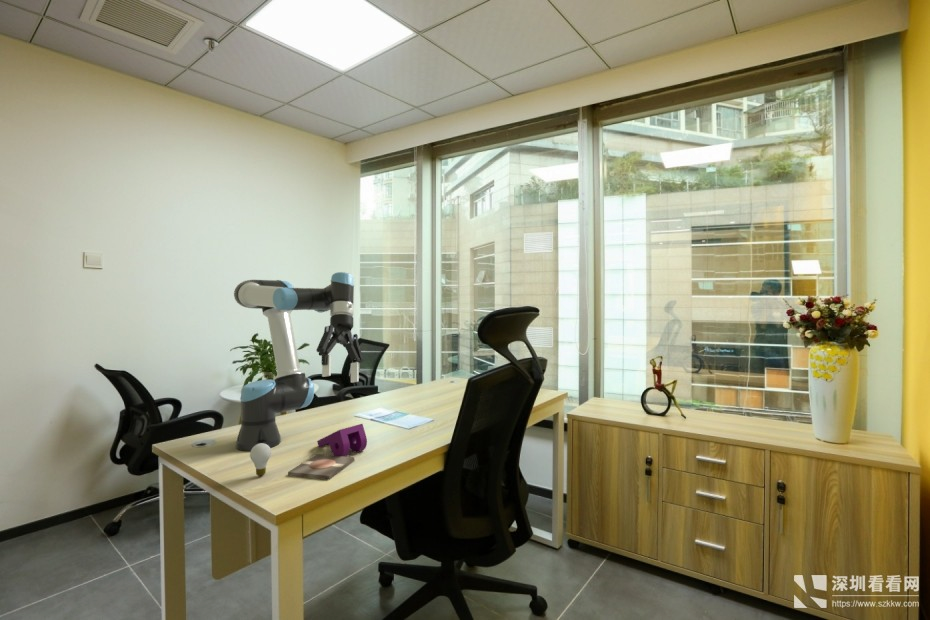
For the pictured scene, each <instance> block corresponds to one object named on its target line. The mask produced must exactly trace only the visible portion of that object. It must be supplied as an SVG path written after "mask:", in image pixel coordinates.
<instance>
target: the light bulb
mask: <svg viewBox="0 0 930 620" xmlns="http://www.w3.org/2000/svg"><path fill="white" fill-rule="evenodd" d="M271 456H272V449H271V448H270V447H269V446H268V445H267V444H264V443H260V444H257V445H255V446H254V447H253V448H252V449H251V451H249V458H250V460H251V462H253V465H254V467H255V475H256V476H258V477H263V476H264V475H265V474H266V470H267V465H268V461H269V459H270V458H271Z"/></svg>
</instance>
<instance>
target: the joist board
mask: <svg viewBox="0 0 930 620" xmlns="http://www.w3.org/2000/svg"><path fill="white" fill-rule="evenodd" d="M354 462H355V457H354V456H334V455H333V454H332V455H330V454H320V453H319V454H315V455H313V456H312V457H310V458H308V459H306V460H304V461H303V462H301V463H299V465H297V466H295V467H294V468H292V469H290V470H289V471H288V472H287V476H288V477H297V478H307V479H317V480H327V481H330V480H331V479H332V478H334V477H335V476H337V475H338V474H340V473H341V471H343V470H344V469H345V468H347V467H348V466H350V465H351V464H352V463H354Z"/></svg>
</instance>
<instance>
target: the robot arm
mask: <svg viewBox="0 0 930 620" xmlns="http://www.w3.org/2000/svg"><path fill="white" fill-rule="evenodd" d="M354 287H355V285H354V277H353V275H352V274H350V273H348V272H345V271H340V272H334V273H333V274H332V275H331V279H330V284H329V285H326V287H322V288H319V287H316V288H313V287H309V288H308V287H306V288H305V287H294V285H293V284H292V283H291V282H289V281H286V280H280V279H277V280H276V279H275V280H272V279H268V280H267V279H248V280H243V281H241V282H240V283H238V284H237V286H236V287H235V289H234V292H233V297H234V301H235V302H236V303H237V304H238V305H240V306H241V307H244V308H248V309H261V310H262V311H261V312H262V315H263V316H265V317H267V321H268V328H269V332H270V338H271V344H272V349H273V355H274V362H275V367H276V372H277V374H276V376H275V377H274V379H262V380H257V381H253V382H252V381H251V382H249V383H246V384H245V385H244V386H242V387H241V391H240V397H239V400H240V421H241V422H240V423H241V425H240V428H239V432H238V434H237V439H236V441H235V448H236V449H237V450H239V451H244V452H247V451H249V452H251V449H252V448H253V447H254V446H255V445H257V444H260V443H264V444H267V445H268V446H269V447H270V449H271V448H274V447H276V446H277V445H278V446H279V444H281V442H282V441H281V438H282V437H281V434H280V431H279V428H278V425H277V422H276V414H279V413H285V412H289V411H294V410H299V409H303V408H306V407H308V406H310V404H311V403H312V401H313V399H314V395H315V386H314V383H313V381H312V379H311V378H309V377H306V373H305V372H304V371H303V370H302V369H301V368H300V361H299V355H298V351H297V346H296V344H297V343H296V340H295V334H294V330H293V323H292V318H291V313H292V312H293V311H302V310H304V311H305V310H306V311H310V310H311V311H312V310H313V311H315V312H317V313H326V312H330V313H329V314H330V318H329V323H330V324H329V325H327V326H325V327H324V332H323V334H322V336H321V338H320V341H319V342H318V343H319V344H318V346H317V348H316V352H317V353H318V355H319V356H320V357H321V362H320V363H321V366H322V367H321V368H322V369H321V377H323V378H324V377H325V378H326V377H330V376H331V374H332V372H331V371H332V370H331V369H332V355H331V354H330V353H331V351H332V350H333V349H334V347H335V346H336V345H337V344H340V345H341V346H343V347H344V348H345V350H346V351H347V354H348V357H349V358H350V360H351V363H350V383H352V384H353V383H359V373H360V363H362V362H364V357H363V353H362V349H361V347H360V343H359V337H358V334H357V333H354V334H353V333H352V330H353V328H354V299H355V297H354V296H355V295H354V294H355V293H354V291H355V290H354V289H355V288H354Z"/></svg>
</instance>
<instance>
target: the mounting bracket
mask: <svg viewBox="0 0 930 620" xmlns="http://www.w3.org/2000/svg"><path fill="white" fill-rule="evenodd" d="M316 442H317V446H318V448H323V447H326V446H329V448H330V451H331V453H332V456H345V457H348V454H349V453H350V451H352V452H354V453H359V452H362V451H364V450H366V448H367V444H368V439H367V435H366V431H365V428H364V425H363V423H360V424H357V425H352V426H348V427H345V428H340V429H339V430H337V431H335V432H333V433H330V434H329V435H327V436H324V437H322V438H321V439H318V440H317V441H316Z"/></svg>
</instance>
